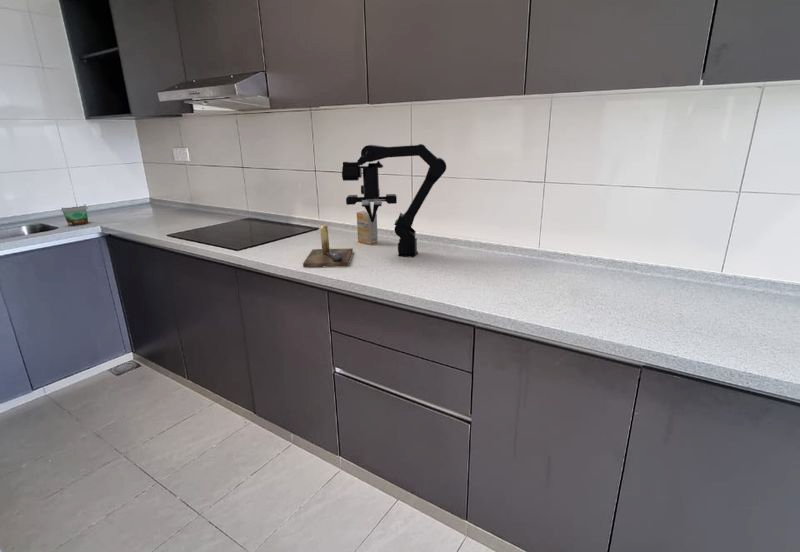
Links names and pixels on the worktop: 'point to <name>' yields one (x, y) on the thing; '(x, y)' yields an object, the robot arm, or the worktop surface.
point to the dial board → (327, 258)
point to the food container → (76, 215)
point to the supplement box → (366, 228)
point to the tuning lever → (325, 244)
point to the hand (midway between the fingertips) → (372, 222)
